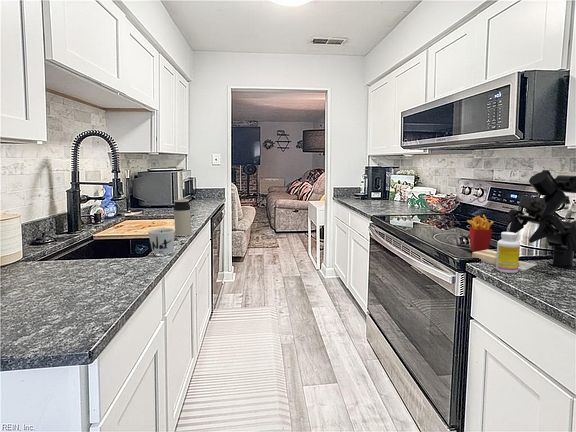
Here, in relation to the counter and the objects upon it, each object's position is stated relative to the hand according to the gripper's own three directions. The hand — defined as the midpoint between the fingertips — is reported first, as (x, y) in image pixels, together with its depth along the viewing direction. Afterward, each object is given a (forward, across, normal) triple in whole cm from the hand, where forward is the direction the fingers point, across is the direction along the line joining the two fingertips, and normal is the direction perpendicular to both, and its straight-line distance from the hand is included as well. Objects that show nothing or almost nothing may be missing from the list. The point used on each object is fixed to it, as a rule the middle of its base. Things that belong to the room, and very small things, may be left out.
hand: (518, 239), depth 134 cm
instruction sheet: (+4, -5, +11) cm, 13 cm away
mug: (+91, -60, -75) cm, 133 cm away
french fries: (+5, -25, +11) cm, 27 cm away
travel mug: (+86, -96, -70) cm, 147 cm away
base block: (+7, -13, +8) cm, 17 cm away
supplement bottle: (+10, 0, +5) cm, 11 cm away
